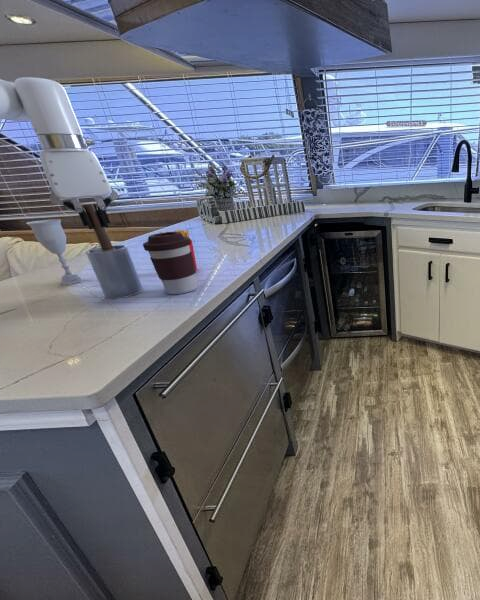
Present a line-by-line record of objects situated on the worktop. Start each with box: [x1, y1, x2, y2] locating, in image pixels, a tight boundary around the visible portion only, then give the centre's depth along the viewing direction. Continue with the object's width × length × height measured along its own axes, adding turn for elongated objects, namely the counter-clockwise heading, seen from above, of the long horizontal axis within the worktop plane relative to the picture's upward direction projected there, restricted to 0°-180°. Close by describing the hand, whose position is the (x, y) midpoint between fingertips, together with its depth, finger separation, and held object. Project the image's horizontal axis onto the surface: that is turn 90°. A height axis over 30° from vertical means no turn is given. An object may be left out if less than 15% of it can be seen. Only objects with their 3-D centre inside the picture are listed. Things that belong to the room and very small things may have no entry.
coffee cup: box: [142, 231, 199, 295], centre depth 83 cm, size 10×10×15 cm
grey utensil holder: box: [85, 244, 144, 299], centre depth 83 cm, size 8×8×12 cm
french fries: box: [159, 229, 198, 271], centre depth 99 cm, size 9×4×13 cm, turn 137°
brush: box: [82, 203, 115, 252], centre depth 80 cm, size 4×4×18 cm
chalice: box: [26, 218, 85, 286], centre depth 93 cm, size 7×7×18 cm
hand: (98, 227), depth 79 cm, fingers closed on brush, 2 cm apart
